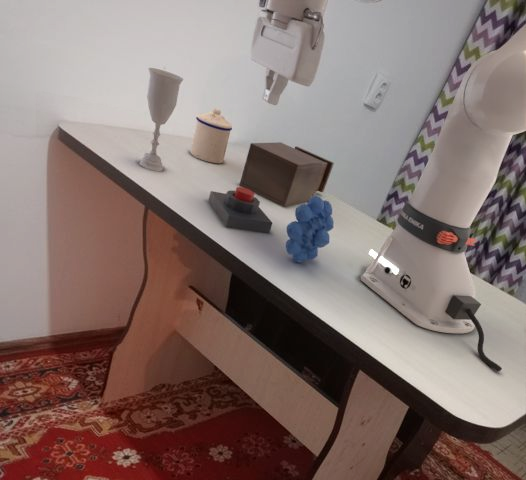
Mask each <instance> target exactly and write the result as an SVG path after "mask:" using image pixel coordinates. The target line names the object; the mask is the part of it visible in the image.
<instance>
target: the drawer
mask: <svg viewBox="0 0 526 480" xmlns="http://www.w3.org/2000/svg"><path fill="white" fill-rule="evenodd" d="M293 148H294V149H297V150H299V151H301V152H303V153H305V154H308V155H310V156H312V157H314V158H317V159H319V160H321V161H323V162H324V164H323V166H322V169H321V172H320V175H319V177H318V180H317V183H316V186H315V188H314V191H313V193H315V192H319V193H324V192H325V188H326V186H327V184H328V181H329V178H330V175H331V172H332V169H333V167H334V165H335V163H334V161H331V160H328V159H327V158H324V157H322V156H320V155H318V154H316V153H313V152H312V151H309V150H306V149H304V148H301V147H299V146H294V147H293Z"/></svg>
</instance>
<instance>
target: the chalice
mask: <svg viewBox="0 0 526 480" xmlns="http://www.w3.org/2000/svg"><path fill="white" fill-rule="evenodd" d="M148 73H149V79H148V88H147V94H146V99H147V105H148V110H149V115H150V118H151V121H152V122H153V123H155V125H154V126H155V128H154V130H153V132H152V135H153V139H152V140H151V141H150V143H151V150H150V151H149V152H147V153H145V154H144V155H143V157H142V158H141V160H140V162H139V166H141V167H143V168H145V169H147V170H151V171H155V172H156V171H157V172H161V171H164V167H163V162H162V158H161V157H160V156H159V155H158V153H157V148H158V146H159V145H160V143H159V138H160V136H161V133H160V132H161V131H160V128H161V126H162V125H165V124H166V123H167V122H168V121H169V119H170V118H171V116H172V114H173V112H174V110H175V108H176V107H177V103H178V97H179V91H180V85H181V84H182V82H183V81H184V78H183V77H181V76H180V75H177V74H175V73H172V72H169V71H166V70H162V69H160V68H156V67H148Z"/></svg>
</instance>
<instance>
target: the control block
mask: <svg viewBox="0 0 526 480" xmlns="http://www.w3.org/2000/svg"><path fill="white" fill-rule="evenodd" d="M235 191H236V190H227V192H226V193H224V192H219V191H213V190H210V193H209V197H208V203H209V205H210V206H211V208H212V209H213V211H214V212H215V213H216V215H217V217H218V218H219V219H220V221H221V222H222V224H223V225H224V227H225V228H229V229H236V230H243V231H251V232H257V233H264V234H270V232H271V229H272V226H273V222H272V220H271V219H270V218H269V217H268V216H267V214H266V213H265V212H264V211H263V209H261V208H260V205H261V201H260V200H259V199H258V197H255V196H254V197H253V200H252V202H246V201H242V200H239V199H237V198H236V197H234V194H235Z"/></svg>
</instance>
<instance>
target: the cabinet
mask: <svg viewBox="0 0 526 480" xmlns="http://www.w3.org/2000/svg"><path fill="white" fill-rule="evenodd" d="M294 148H295V147H292V146H290V145H287V144H286V143H283V142H281V141H280V142H279V141H278V142H250V144H249V148H248V152H247V155H246V160H245V163H244V167H243V170H242V174H241V179H240V182H239V187H243V188H247V189H249V190H251V191H253V192H254V194H257V195H258V196H261V197H263V198H265V199H267V200H269V201H271V202H273V203H274V204H277V205H278V206H281V207H283V208H286V207H287V208H288V207H290V206H294V205H298V204H301V203H305V202H308V200H309V199H310V198H312V197H313V194H314V192H313V191H314V188H315V186H316V183H317V180H318V177H319V175H320V172H321V169H322V166H323V164H324V162H323V161H321V160H319V159H317V158H314V157H312V156H310V155H308V154H305V153H303V152H301V151H299V150H297V149H294Z"/></svg>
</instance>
